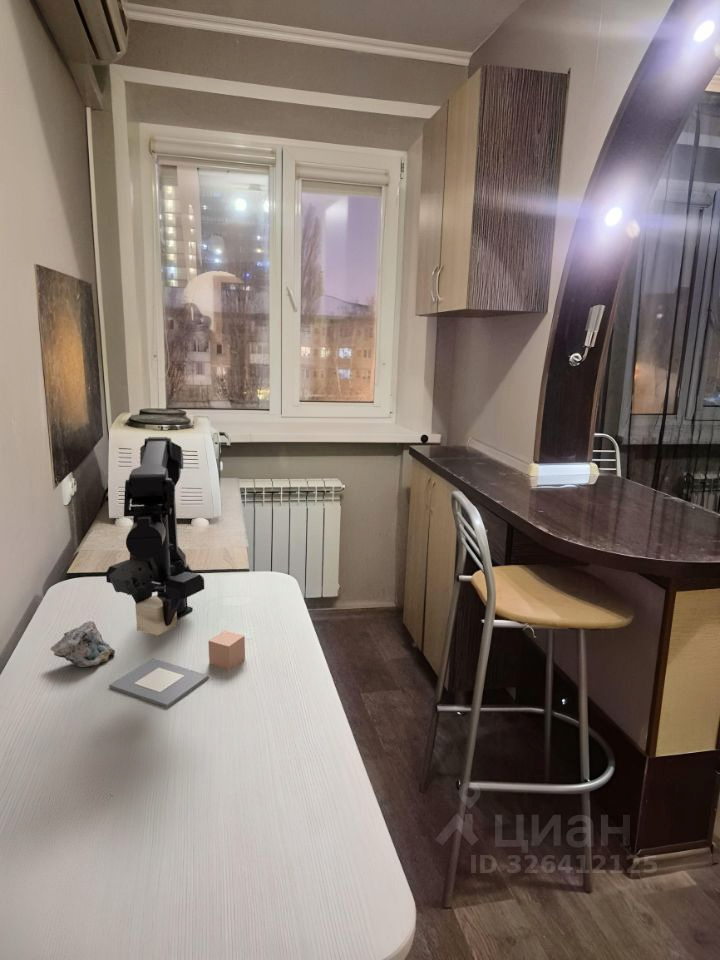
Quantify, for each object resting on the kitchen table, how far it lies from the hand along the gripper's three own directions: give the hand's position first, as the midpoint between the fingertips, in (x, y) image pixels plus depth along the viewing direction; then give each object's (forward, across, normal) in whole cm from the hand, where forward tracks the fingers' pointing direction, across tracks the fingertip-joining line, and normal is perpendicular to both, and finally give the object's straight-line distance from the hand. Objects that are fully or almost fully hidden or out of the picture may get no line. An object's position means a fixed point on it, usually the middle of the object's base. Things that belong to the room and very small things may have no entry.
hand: (157, 622), depth 116 cm
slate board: (+12, 0, -1) cm, 12 cm away
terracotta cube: (+12, +6, +12) cm, 18 cm away
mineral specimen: (+12, -19, -1) cm, 22 cm away
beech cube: (+1, 0, 0) cm, 1 cm away
